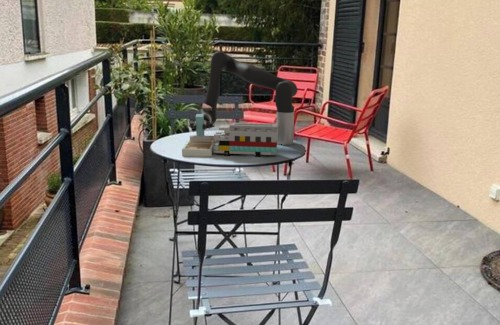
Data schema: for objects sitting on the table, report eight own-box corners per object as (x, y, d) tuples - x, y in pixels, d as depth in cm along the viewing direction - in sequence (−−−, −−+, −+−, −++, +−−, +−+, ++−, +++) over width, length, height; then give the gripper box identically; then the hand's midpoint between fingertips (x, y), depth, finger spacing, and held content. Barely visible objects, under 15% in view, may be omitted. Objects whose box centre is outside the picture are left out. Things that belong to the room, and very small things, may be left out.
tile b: (188, 148, 240) (188, 152, 241) (196, 148, 240) (196, 152, 241) (190, 146, 244) (190, 150, 245) (198, 146, 244) (198, 150, 245)
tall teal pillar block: (191, 137, 252) (190, 113, 246) (210, 138, 251) (210, 114, 245) (190, 141, 247) (188, 117, 241) (209, 141, 247) (209, 117, 241)
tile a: (198, 148, 240) (198, 152, 241) (206, 148, 240) (206, 152, 241) (199, 146, 244) (199, 150, 245) (207, 147, 244) (207, 151, 244)
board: (193, 142, 265) (193, 135, 264) (215, 143, 265) (215, 135, 264) (187, 150, 248) (187, 142, 247) (211, 150, 247) (211, 143, 246)
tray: (185, 150, 247) (185, 144, 246) (213, 151, 247) (213, 144, 246) (182, 155, 237) (181, 149, 236) (211, 156, 236) (211, 149, 235)
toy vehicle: (216, 151, 246) (215, 121, 242) (276, 153, 243) (277, 123, 240) (213, 155, 238) (213, 124, 235) (276, 157, 236) (276, 126, 232)
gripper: (190, 114, 259) (184, 119, 242) (216, 114, 258) (213, 120, 242) (190, 128, 261) (185, 134, 244) (217, 128, 260) (213, 135, 244)
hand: (199, 127), depth 243 cm, fingers closed on tall teal pillar block, 3 cm apart
